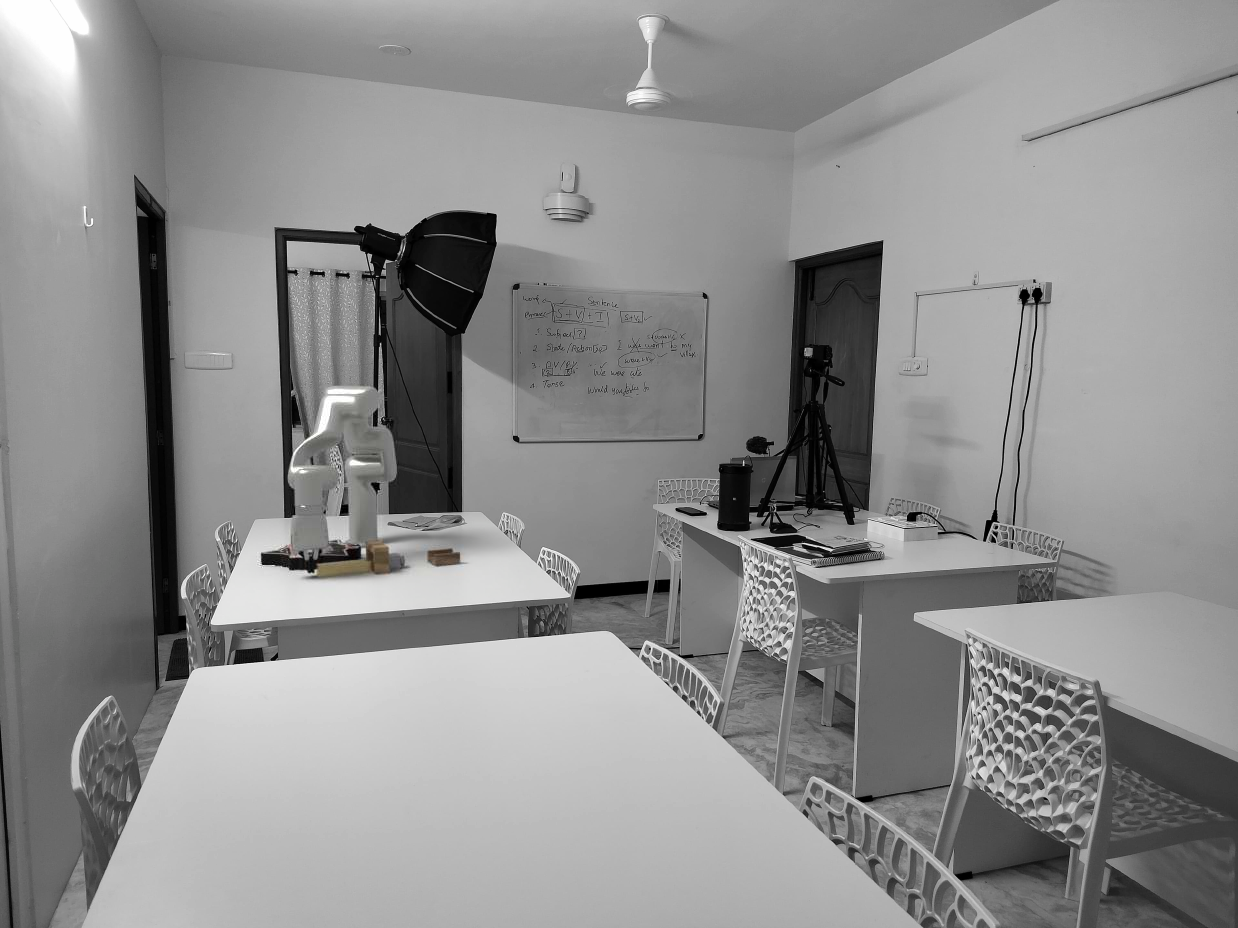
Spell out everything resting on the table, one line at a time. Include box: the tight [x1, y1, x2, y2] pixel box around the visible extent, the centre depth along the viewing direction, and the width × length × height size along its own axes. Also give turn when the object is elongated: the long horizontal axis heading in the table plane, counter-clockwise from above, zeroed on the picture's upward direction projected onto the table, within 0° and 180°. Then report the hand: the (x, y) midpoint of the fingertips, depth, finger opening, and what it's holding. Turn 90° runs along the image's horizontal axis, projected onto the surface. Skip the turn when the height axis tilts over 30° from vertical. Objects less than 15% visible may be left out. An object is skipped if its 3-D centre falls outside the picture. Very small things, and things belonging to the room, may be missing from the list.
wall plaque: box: [260, 539, 362, 571], centre depth 260 cm, size 28×4×30 cm
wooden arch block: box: [365, 540, 390, 575], centre depth 249 cm, size 12×4×8 cm, turn 31°
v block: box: [426, 547, 461, 567], centre depth 260 cm, size 8×8×4 cm
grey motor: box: [389, 552, 406, 571], centre depth 251 cm, size 9×4×4 cm, turn 121°
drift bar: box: [315, 558, 374, 579], centre depth 244 cm, size 16×3×4 cm, turn 120°
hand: (310, 572), depth 239 cm, fingers closed
